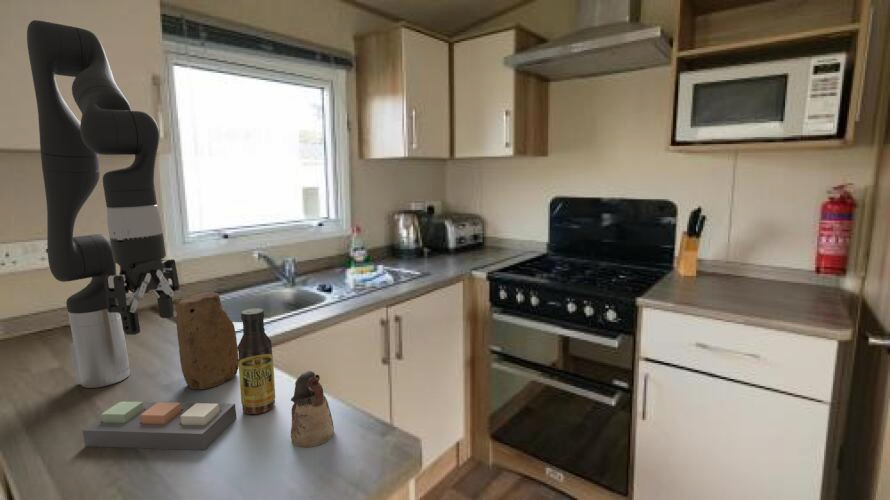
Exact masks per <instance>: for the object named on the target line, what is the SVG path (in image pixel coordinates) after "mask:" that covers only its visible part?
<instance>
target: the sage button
mask: <svg viewBox="0 0 890 500" xmlns="http://www.w3.org/2000/svg"><path fill="white" fill-rule="evenodd" d="M143 402H144V401H133V402H127V401H119V402H117V403H116V404H114V405H112V406H111V407H110V408H108V409H106V410H105V411H104V412H102V413H101V414H100V415H101V418H102V421H103V423H127V422H128V421H130V420H131V419H133V418H134V417H135V416H137V415H138V414H140V413H141V412H142V411H144V409H143Z"/></svg>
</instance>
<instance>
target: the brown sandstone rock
mask: <svg viewBox="0 0 890 500" xmlns="http://www.w3.org/2000/svg"><path fill="white" fill-rule="evenodd" d="M174 306H175V311H176V314H175V318H176V319H175V320H176V321H175V322H176V332H177V334H176V335H177V341H178V352H179V353H178V354H179V361H180V367H181V372H182V375H183V378H184V381H185V383H186V384H187V386H188V387H189V388H190V389H193V390H206V389H212V388H215V387H217V386H219V385H221V384H223V383H224V382H228V381H229V380H232V379H233V378H234V377H235V375H237V373H238V371H239V363H238V360H239V354H238V353H239V352H238V339H237V333H236V329H235V324H234V322H233V321H232V320H231V319H230V317H229V316H228V314H227V311H226V310H225V309H223V306H222V303H221V297H220V294H219V292H218V293H217V292H211V291H205V292H202V293H196V294H191V295H188V296H184V297H181V298H179V299H176V301H175V305H174Z"/></svg>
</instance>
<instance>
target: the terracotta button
mask: <svg viewBox="0 0 890 500" xmlns="http://www.w3.org/2000/svg"><path fill="white" fill-rule="evenodd" d="M157 402H158V403H156V404H155V405H154V406H152V407H151V408H149V409H148V410H147V411H145V412H144V413H142V414H141V422H142V424H167V423H168V422H169V421H170V420H172V419H173V418H174V417H175V416H177V415H178V414H179V413H180V412H182V411H181V404H180V403H181V402H180V403H163V402H164V401H157Z"/></svg>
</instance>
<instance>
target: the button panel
mask: <svg viewBox="0 0 890 500" xmlns="http://www.w3.org/2000/svg"><path fill="white" fill-rule="evenodd" d="M126 402H134V401H133V400H132V401H131V400H130V401H129V400H128V401H126ZM142 402H143V409H144V411H142V412H141V413H140V414H138V415H137V416H135V417H134V418H133V419H131V420H130V421H128V422H127V423H103V421H102V417H100V418H99V419H97V420H96V421H94V422H93V423H92V424H90V425H87V427H85V428H84V429H82V435H83V441H84V445H85V447H95V448H97V447H99V448H101V447H102V448H124V449H125V448H128V449H130V448H131V449H134V448H135V449H156V450H157V449H159V450H160V449H161V450H166V449H167V450H188V451H190V450H191V451H196V450H197V451H206V449H208V447H209V446H210V445H212V444H213V443H214V442H215V441H216V440H217V438H218V437H220V436H221V434H222V433H224V432H225V430H227V428H228V427H230V425H232V423H233V422H235V421H236V420H237V412H236V403H227V402H226V403H220V402H219V403H218V402H216V403H215V402H209V403H210V404H219V409H220V413H219V414H218V415H217V416H216V417H215V418H213V419H212V420H211V421H210V422H209V423H208V424H207V425H182V424H181V417H180V416H181V415H182V414H183V413H185V412H186V411H187V410H188V409H190V408H191V407H192V406H193V405H195V404H196V403H197V402H179V401H178V402H173V401H171V402H169V401H167V402H166V401H162V402H163V403H180V404H181V411H182V412H180V413H179V414H178V415H177V416H175V417H174V418H173V419H172V420H170V421H169V422H168V423H167V424H142V422H141V414H142V413H144V412H145V411H147V410H148V409H149V408H151V407H152V406H154V405H155V404H156V403H158V402H159V401H142Z"/></svg>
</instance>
